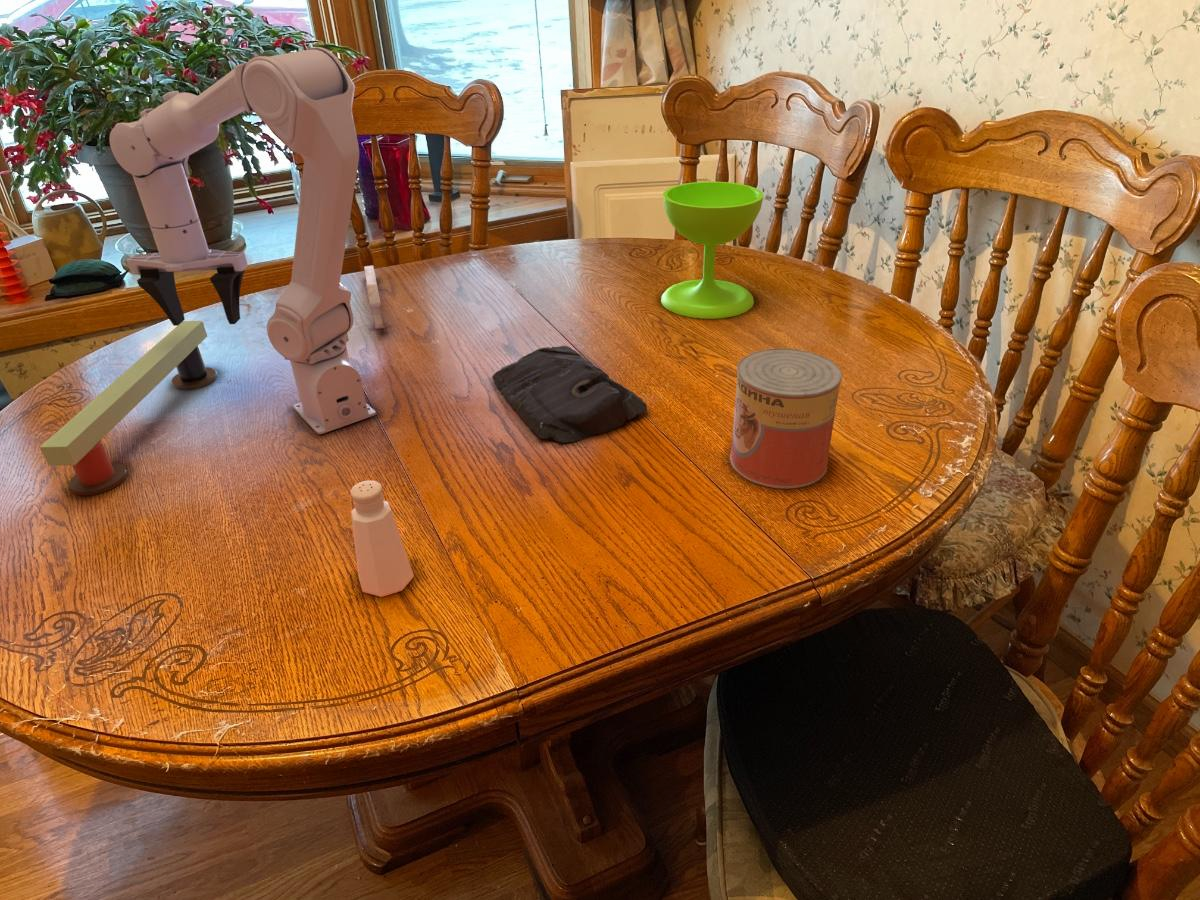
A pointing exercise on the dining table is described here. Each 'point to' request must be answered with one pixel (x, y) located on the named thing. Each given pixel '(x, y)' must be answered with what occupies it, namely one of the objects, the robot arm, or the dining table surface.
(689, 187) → the wineglass
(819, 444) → the canned food
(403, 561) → the pepper shaker
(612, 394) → the black fabric pouch
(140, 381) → the bar
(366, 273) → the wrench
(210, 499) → the dining table surface
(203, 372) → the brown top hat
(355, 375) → the robot arm
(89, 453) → the red top hat
